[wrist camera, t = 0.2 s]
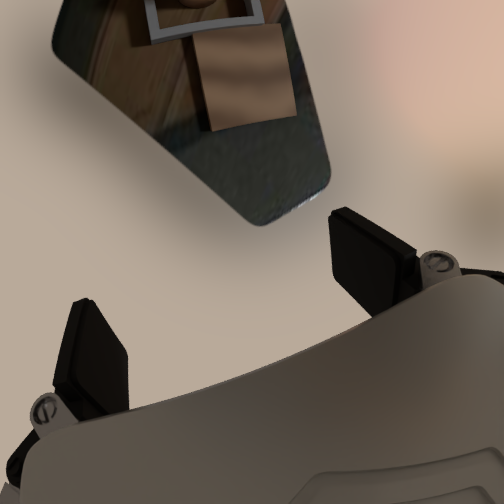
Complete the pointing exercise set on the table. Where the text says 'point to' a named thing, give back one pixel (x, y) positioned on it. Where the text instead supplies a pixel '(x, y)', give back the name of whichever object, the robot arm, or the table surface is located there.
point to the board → (244, 75)
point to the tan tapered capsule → (197, 3)
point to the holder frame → (201, 23)
